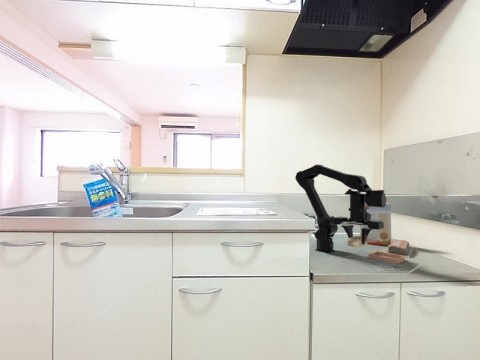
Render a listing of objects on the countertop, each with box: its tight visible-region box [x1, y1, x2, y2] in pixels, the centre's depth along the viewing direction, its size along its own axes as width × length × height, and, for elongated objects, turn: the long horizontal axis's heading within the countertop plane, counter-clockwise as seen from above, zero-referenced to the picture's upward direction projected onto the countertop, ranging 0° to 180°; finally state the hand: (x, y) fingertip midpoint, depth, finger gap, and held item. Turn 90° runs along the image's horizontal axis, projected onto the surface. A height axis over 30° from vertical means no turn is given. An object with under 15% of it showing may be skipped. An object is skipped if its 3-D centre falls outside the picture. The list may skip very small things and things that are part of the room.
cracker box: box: [359, 202, 392, 247], centre depth 135 cm, size 14×6×21 cm, turn 58°
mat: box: [344, 250, 398, 269], centre depth 108 cm, size 18×15×1 cm
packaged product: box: [382, 239, 414, 259], centre depth 118 cm, size 18×5×10 cm
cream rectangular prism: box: [347, 235, 368, 249], centre depth 110 cm, size 4×8×3 cm, turn 131°
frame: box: [369, 250, 406, 265], centre depth 107 cm, size 11×8×2 cm
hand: (357, 243), depth 110 cm, fingers closed on cream rectangular prism, 4 cm apart
